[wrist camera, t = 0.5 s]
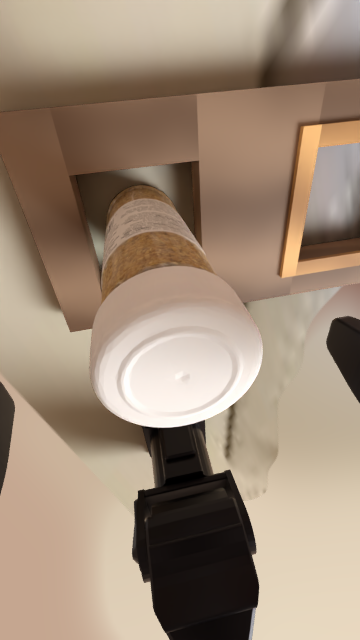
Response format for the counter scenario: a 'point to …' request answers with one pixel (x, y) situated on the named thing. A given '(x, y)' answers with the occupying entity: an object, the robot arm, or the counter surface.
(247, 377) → the sprinkles bottle
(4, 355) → the counter surface
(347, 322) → the robot arm
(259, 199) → the rail
